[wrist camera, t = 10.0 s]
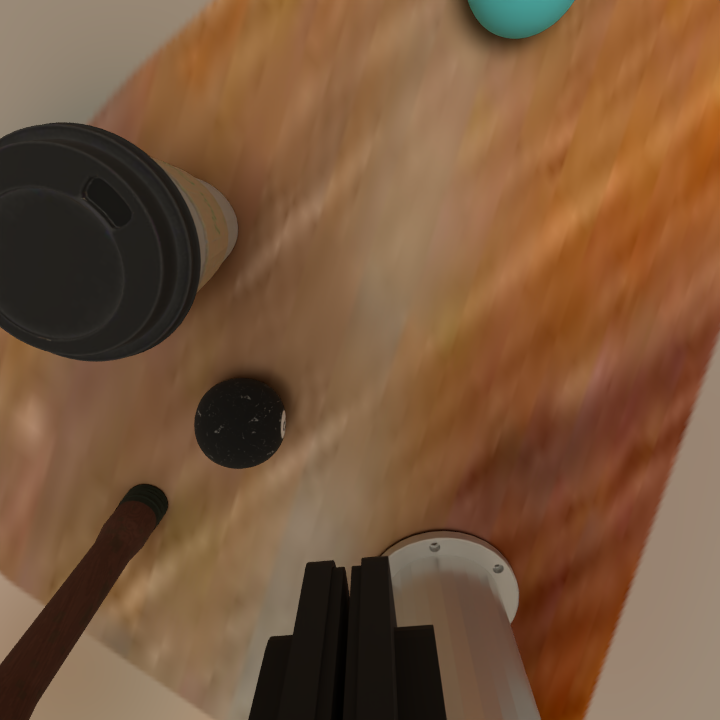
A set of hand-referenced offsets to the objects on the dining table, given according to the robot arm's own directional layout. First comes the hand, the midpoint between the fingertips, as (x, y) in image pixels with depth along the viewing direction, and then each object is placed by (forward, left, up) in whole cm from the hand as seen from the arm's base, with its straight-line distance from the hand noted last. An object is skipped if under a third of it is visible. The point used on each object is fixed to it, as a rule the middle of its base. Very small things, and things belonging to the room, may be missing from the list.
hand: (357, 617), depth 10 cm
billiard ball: (-5, +9, -26) cm, 28 cm away
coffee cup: (+8, +10, -26) cm, 29 cm away
